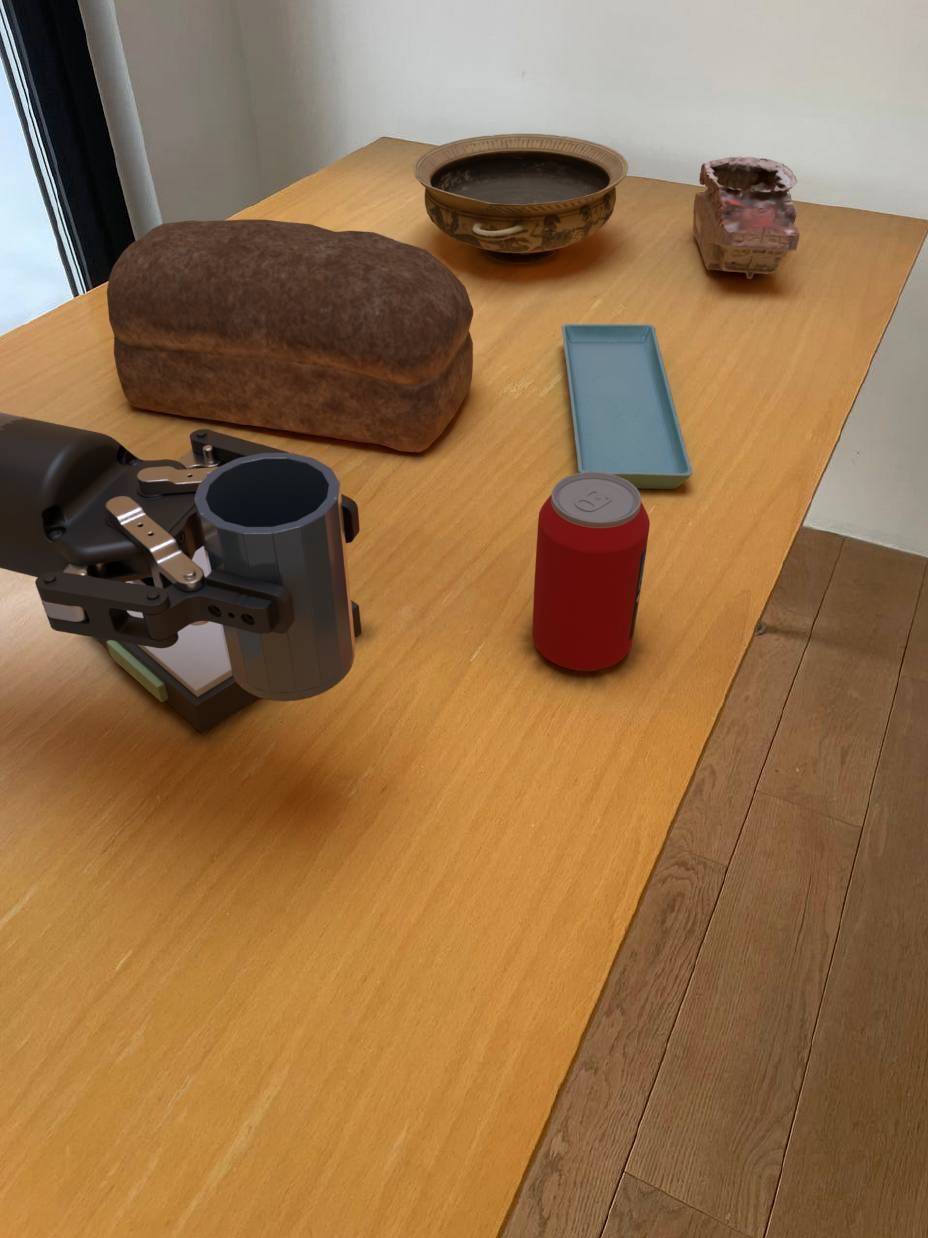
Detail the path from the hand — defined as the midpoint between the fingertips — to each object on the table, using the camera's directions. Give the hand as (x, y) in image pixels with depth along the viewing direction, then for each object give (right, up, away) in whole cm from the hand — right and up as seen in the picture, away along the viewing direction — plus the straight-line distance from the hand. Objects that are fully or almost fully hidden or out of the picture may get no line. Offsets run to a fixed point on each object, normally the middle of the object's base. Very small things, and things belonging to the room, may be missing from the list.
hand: (323, 564), depth 46 cm
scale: (-10, -3, +23) cm, 25 cm away
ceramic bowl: (+13, +41, +74) cm, 85 cm away
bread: (-9, +18, +48) cm, 52 cm away
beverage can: (+14, -4, +22) cm, 27 cm away
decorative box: (+39, +38, +70) cm, 89 cm away
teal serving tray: (+20, +16, +45) cm, 52 cm away
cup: (-2, -4, +5) cm, 7 cm away
